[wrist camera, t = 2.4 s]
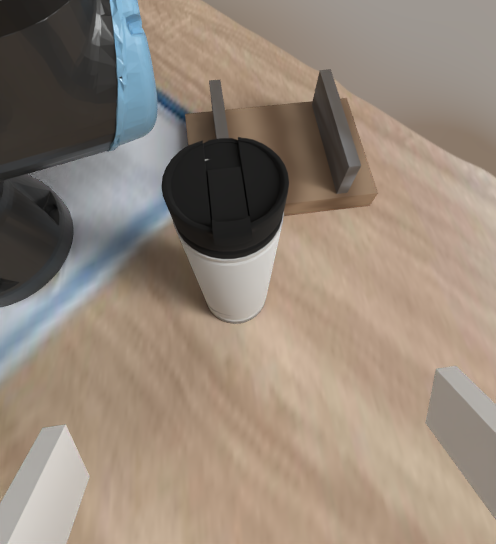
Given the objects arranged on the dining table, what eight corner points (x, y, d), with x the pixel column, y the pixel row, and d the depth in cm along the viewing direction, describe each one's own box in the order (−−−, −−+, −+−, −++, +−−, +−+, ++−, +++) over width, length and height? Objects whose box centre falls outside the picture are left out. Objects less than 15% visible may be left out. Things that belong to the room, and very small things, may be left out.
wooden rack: (198, 226, 36) (187, 189, 30) (188, 129, 41) (178, 80, 35) (369, 205, 38) (396, 166, 31) (340, 114, 42) (358, 63, 36)
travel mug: (208, 331, 32) (159, 245, 14) (203, 270, 35) (154, 125, 16) (270, 323, 33) (305, 229, 14) (261, 263, 35) (280, 113, 16)
